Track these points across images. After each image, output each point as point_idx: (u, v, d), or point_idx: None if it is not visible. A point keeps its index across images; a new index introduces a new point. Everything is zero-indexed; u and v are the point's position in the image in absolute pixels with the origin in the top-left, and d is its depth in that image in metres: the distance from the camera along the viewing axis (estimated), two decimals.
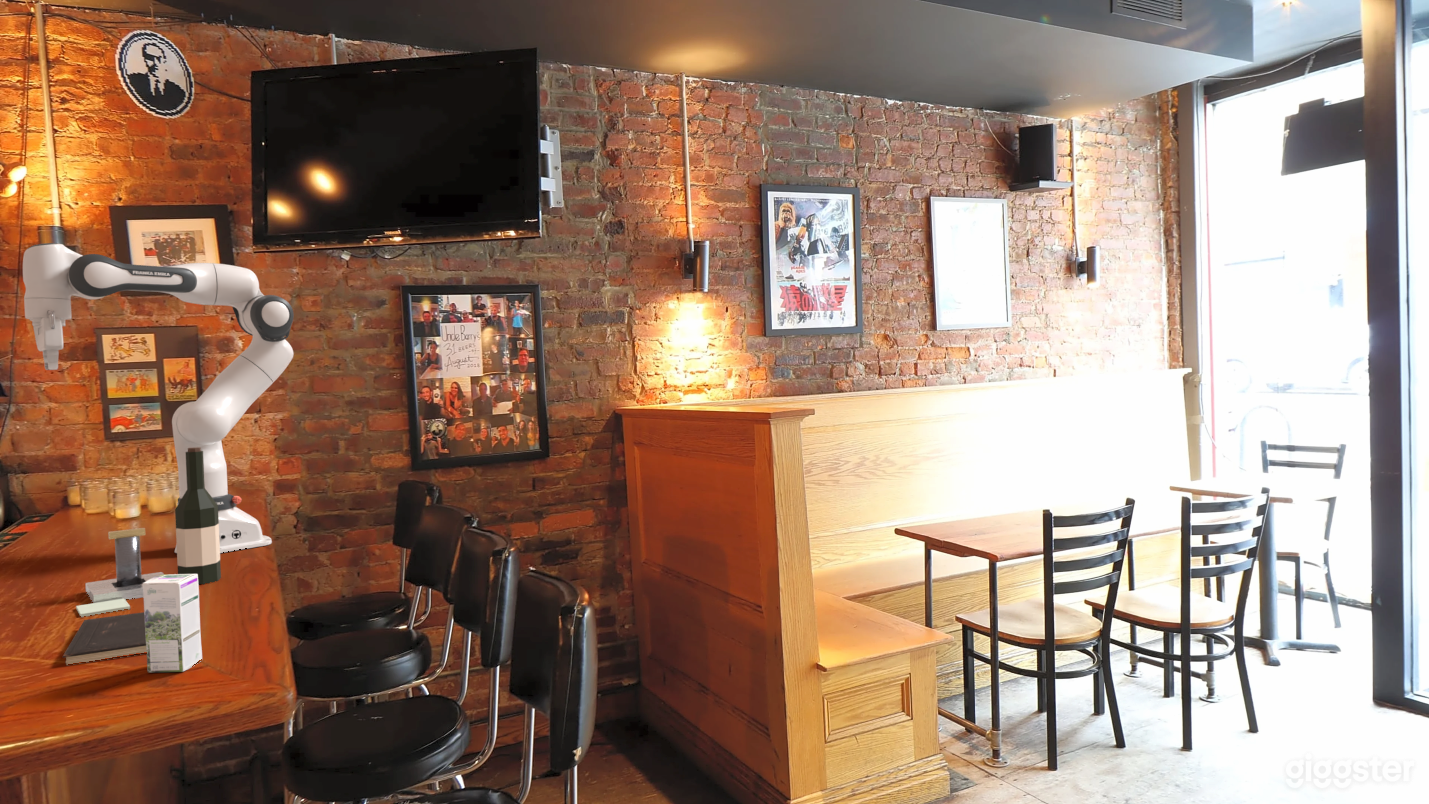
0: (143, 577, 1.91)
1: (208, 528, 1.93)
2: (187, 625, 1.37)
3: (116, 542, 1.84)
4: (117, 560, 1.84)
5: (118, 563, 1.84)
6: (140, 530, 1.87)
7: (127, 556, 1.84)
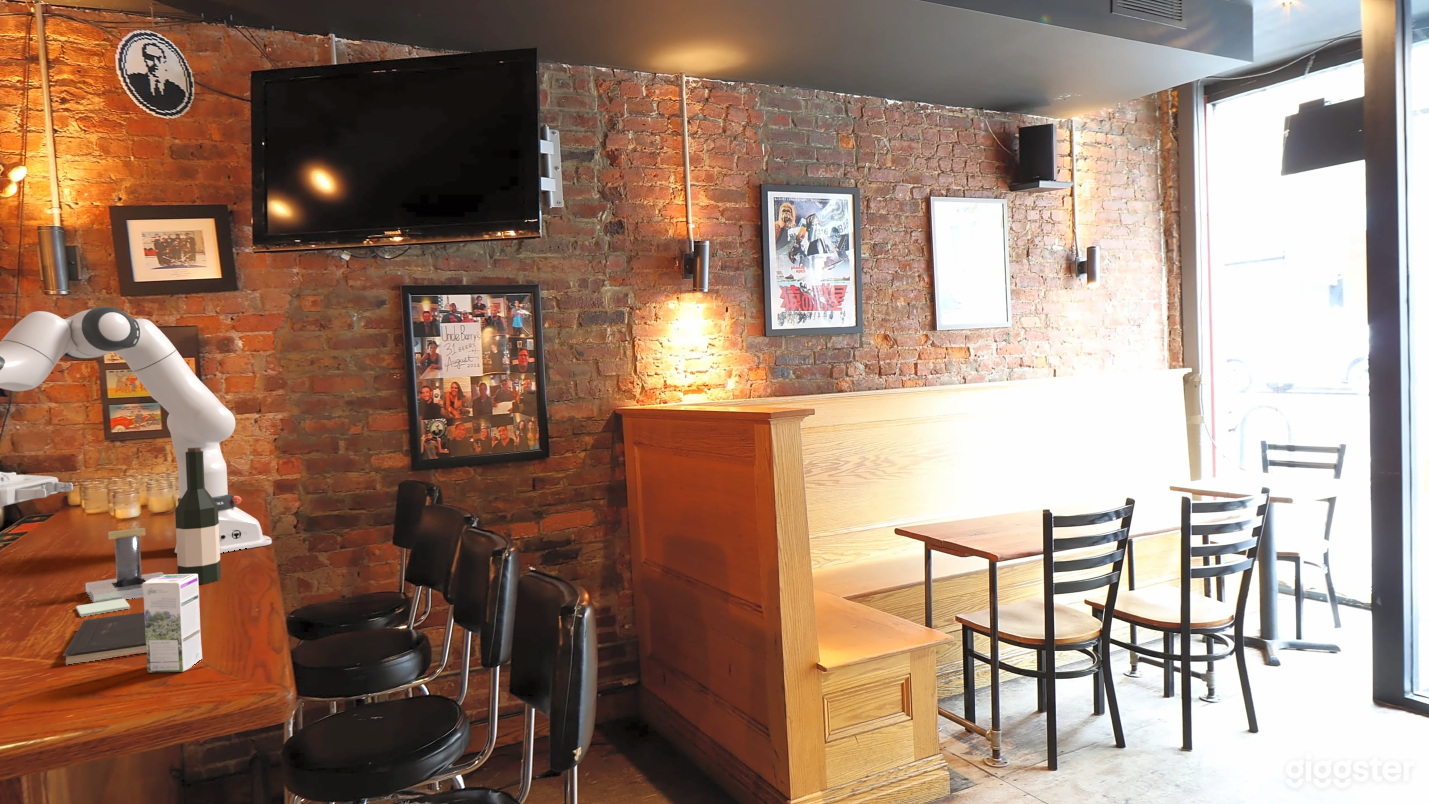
0: (143, 577, 1.91)
1: (208, 528, 1.93)
2: (187, 625, 1.37)
3: (116, 542, 1.84)
4: (117, 560, 1.84)
5: (118, 563, 1.84)
6: (140, 530, 1.87)
7: (127, 556, 1.84)
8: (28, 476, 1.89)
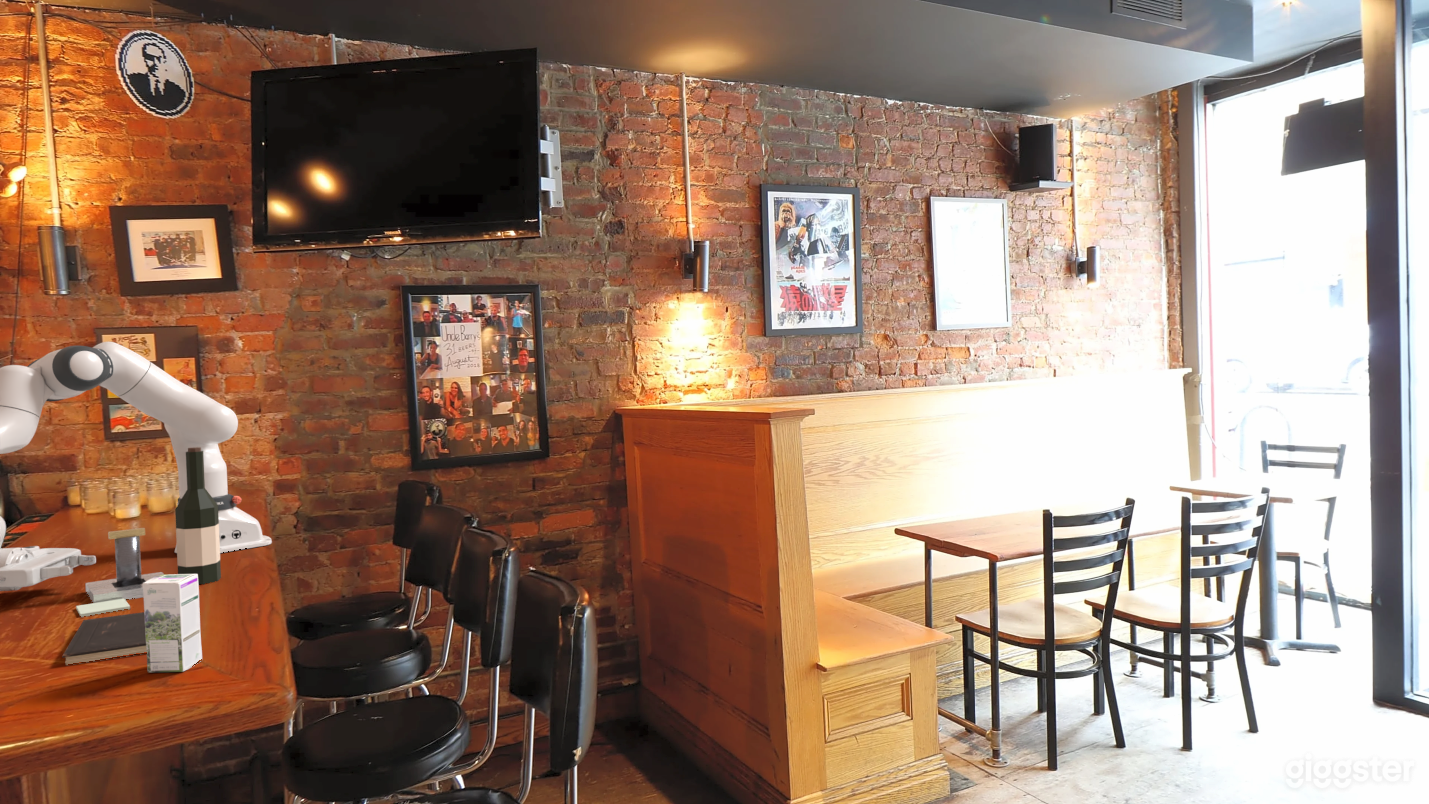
0: (143, 577, 1.91)
1: (208, 528, 1.93)
2: (187, 625, 1.37)
3: (116, 542, 1.84)
4: (117, 560, 1.84)
5: (118, 563, 1.84)
6: (140, 530, 1.87)
7: (127, 556, 1.84)
8: (51, 549, 1.91)
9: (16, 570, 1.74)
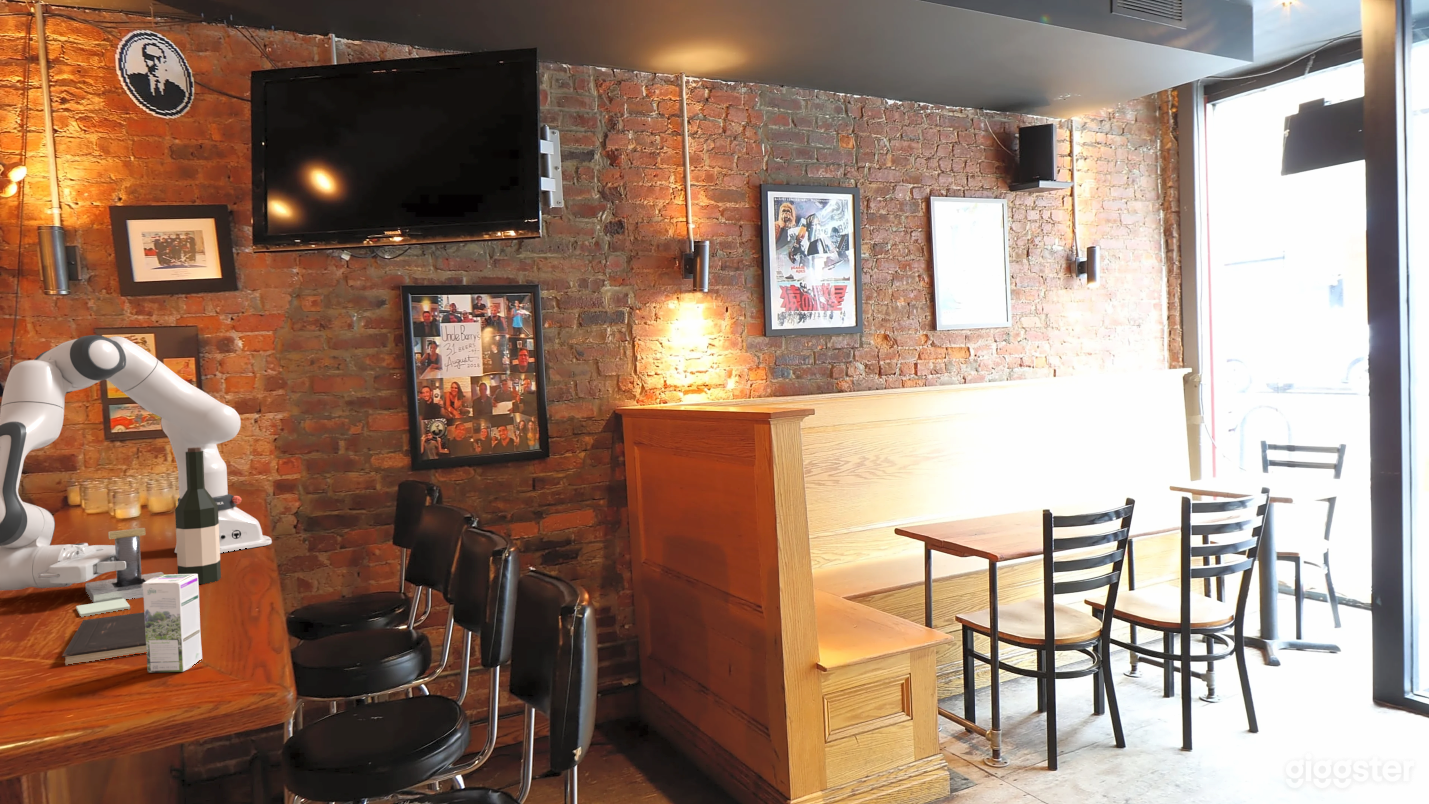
0: (143, 577, 1.91)
1: (208, 528, 1.93)
2: (187, 625, 1.37)
3: (116, 542, 1.84)
4: (117, 560, 1.84)
5: None
6: (140, 530, 1.87)
7: (127, 556, 1.84)
8: (100, 546, 1.92)
9: (70, 566, 1.75)
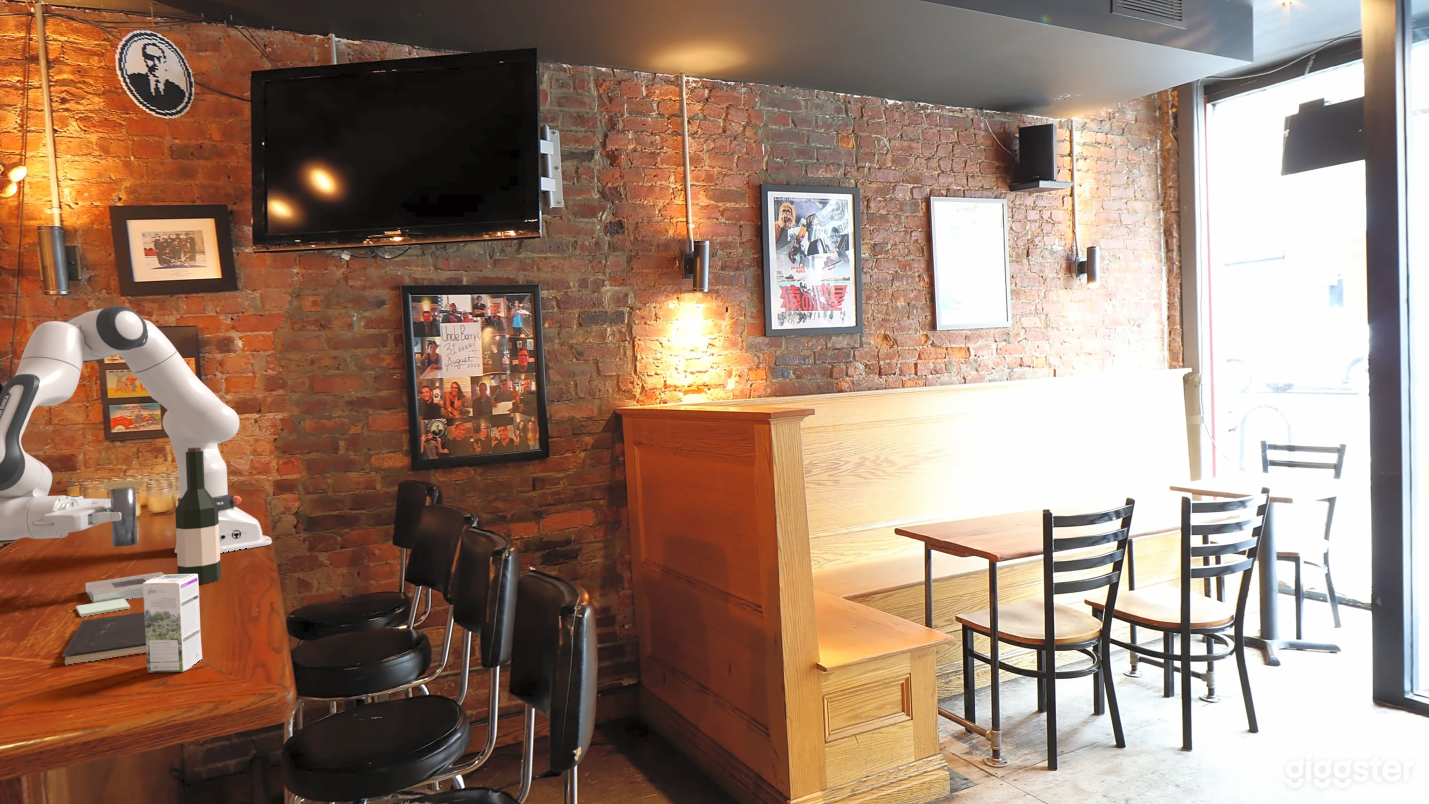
0: (143, 577, 1.91)
1: (208, 528, 1.93)
2: (187, 625, 1.37)
3: (111, 493, 1.83)
4: (112, 511, 1.83)
5: None
6: (136, 482, 1.86)
7: (123, 507, 1.83)
8: (95, 499, 1.91)
9: (64, 515, 1.74)
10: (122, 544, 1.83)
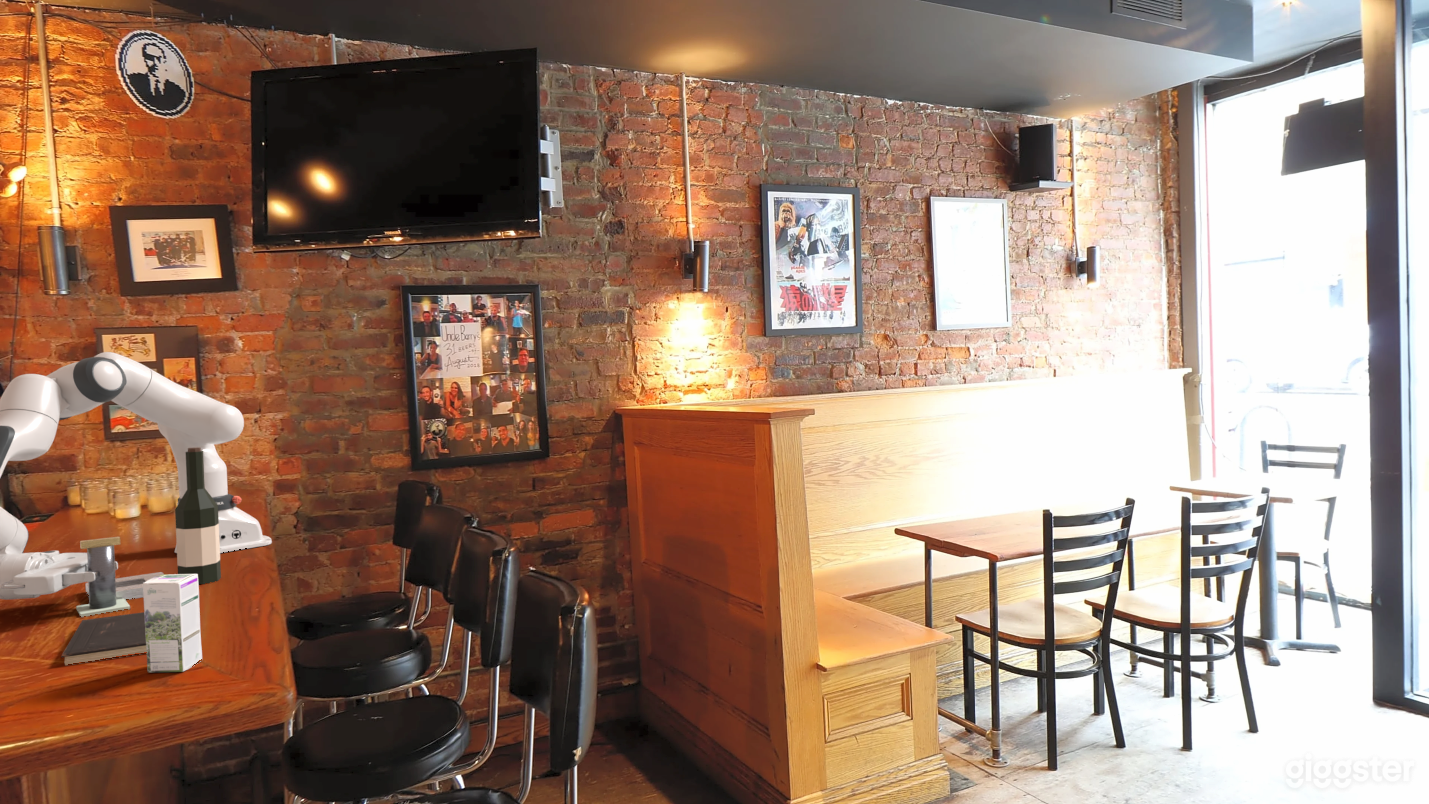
0: (143, 577, 1.91)
1: (208, 528, 1.93)
2: (187, 625, 1.37)
3: (88, 552, 1.71)
4: None
5: None
6: (115, 539, 1.74)
7: (100, 567, 1.71)
8: (72, 554, 1.79)
9: (36, 577, 1.62)
10: (100, 606, 1.72)
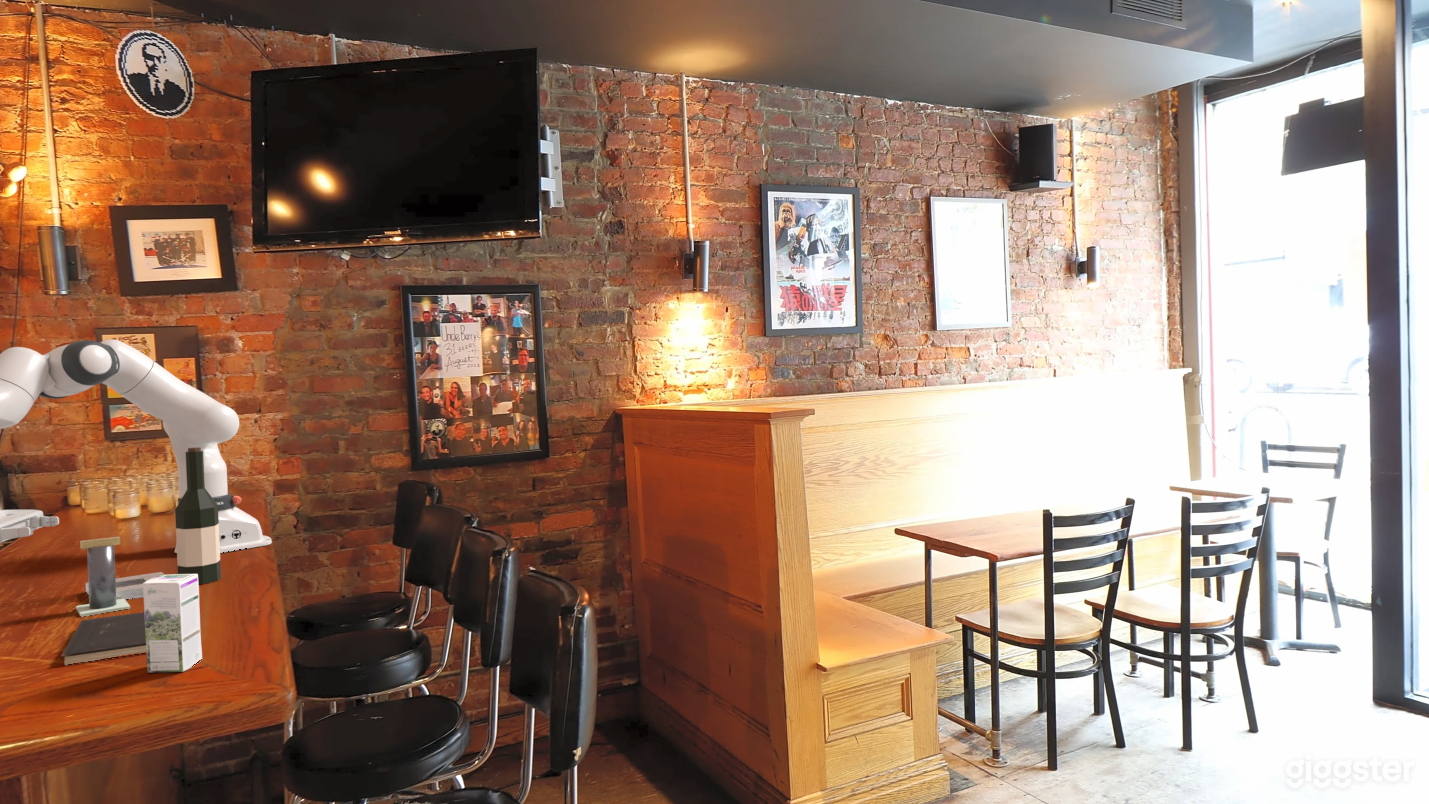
0: (143, 577, 1.91)
1: (208, 528, 1.93)
2: (187, 625, 1.37)
3: (88, 552, 1.71)
4: (89, 571, 1.71)
5: (91, 574, 1.71)
6: (115, 539, 1.74)
7: (100, 567, 1.71)
8: (11, 511, 1.79)
9: None
10: (100, 606, 1.72)
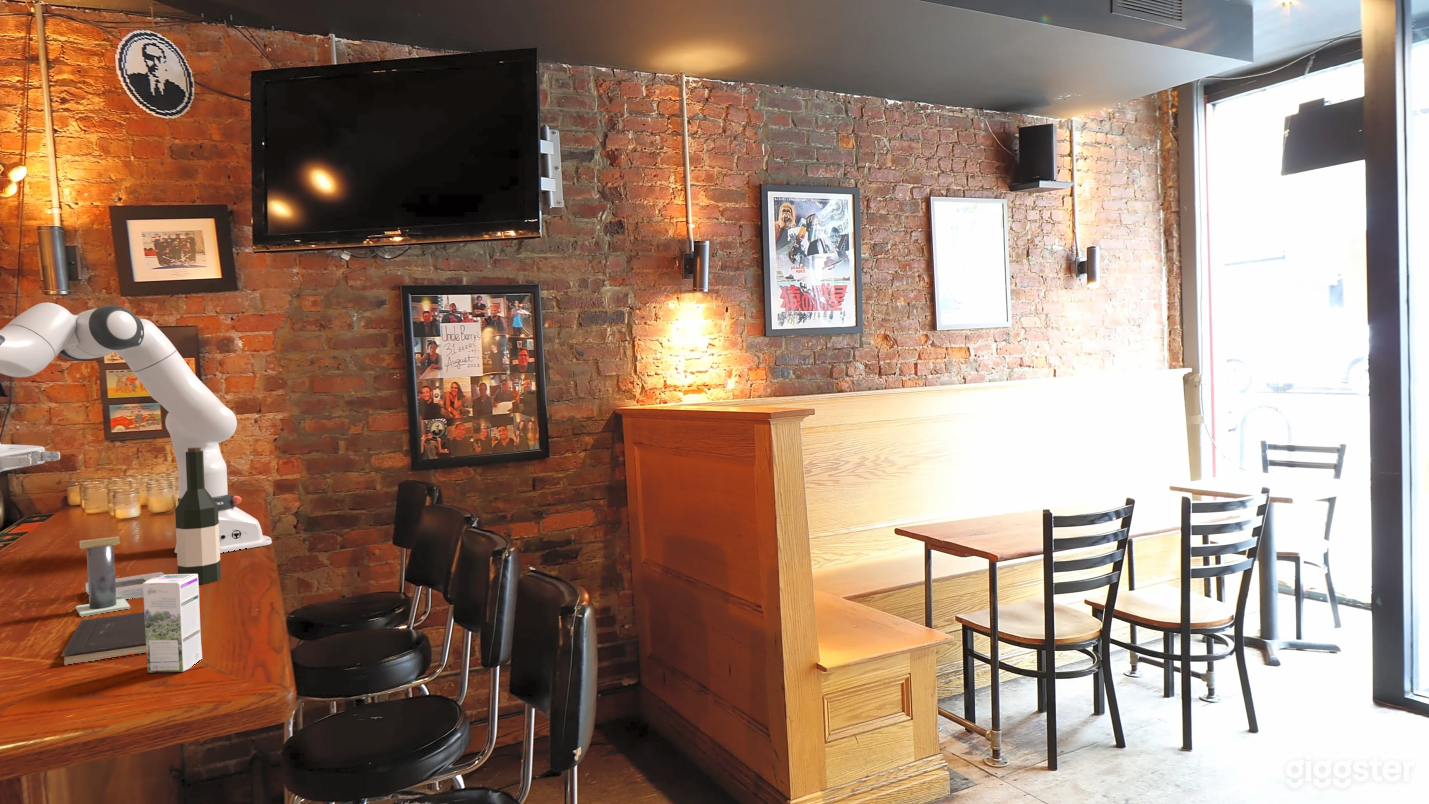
0: (143, 577, 1.91)
1: (208, 528, 1.93)
2: (187, 625, 1.37)
3: (87, 552, 1.71)
4: (89, 571, 1.71)
5: (90, 574, 1.71)
6: (114, 539, 1.74)
7: (100, 566, 1.71)
8: (13, 445, 1.81)
9: None
10: (99, 606, 1.72)
